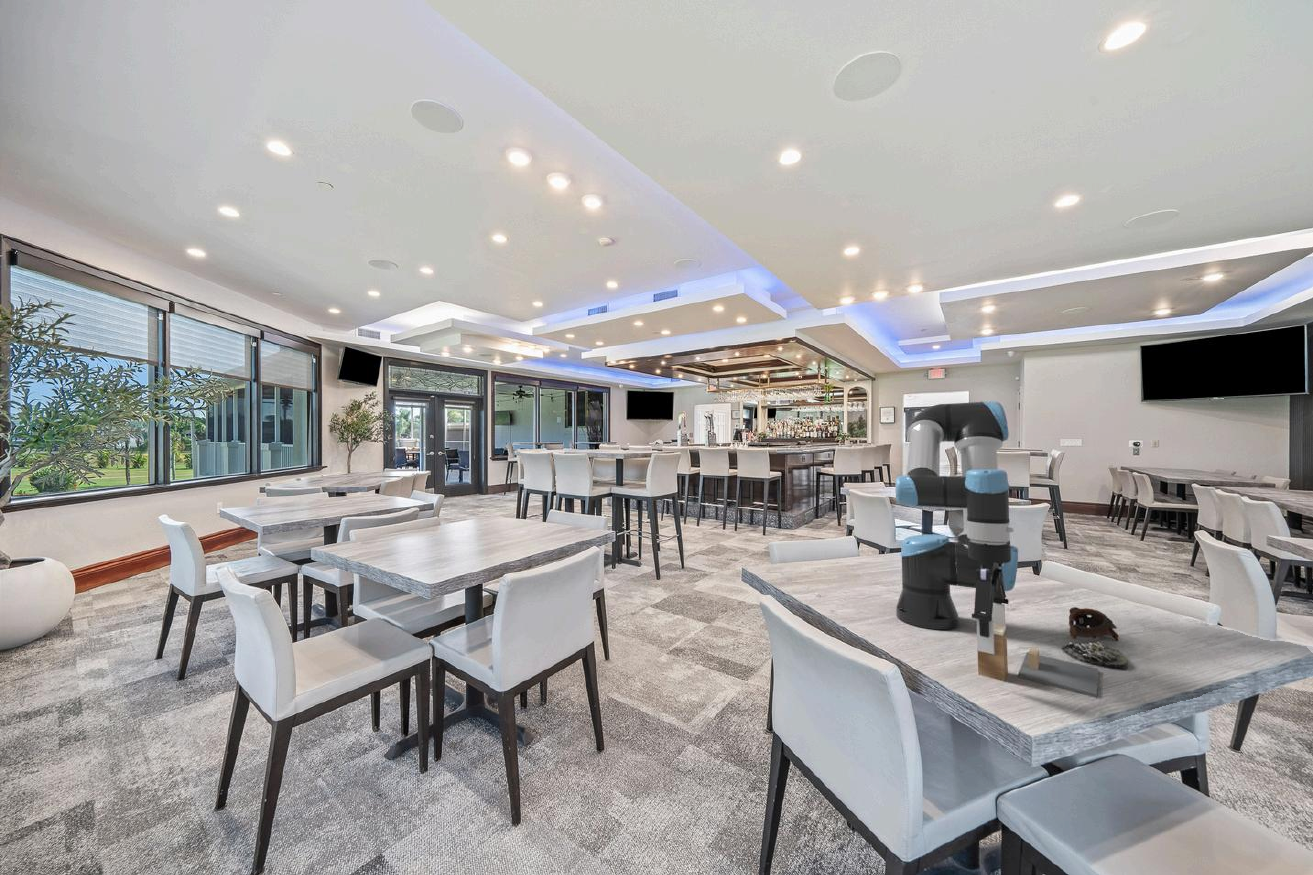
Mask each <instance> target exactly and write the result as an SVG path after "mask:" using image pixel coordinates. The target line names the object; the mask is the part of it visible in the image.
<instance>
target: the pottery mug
mask: <svg viewBox="0 0 1313 875" xmlns="http://www.w3.org/2000/svg"><path fill="white" fill-rule="evenodd" d="M1068 612H1069V616H1068V621H1069V622H1068V626H1069V631H1068V632H1069V635H1070V637H1072V639H1074V640H1076V639H1077V638H1084V639H1085V638H1086V639H1096V638H1099V639H1101V638H1103V637H1107V636H1108V637H1110V638H1112V639H1113V640H1114V641H1116V642H1119V638H1120V637H1119V636H1120V635H1119V634H1118V633H1117V632H1116V631H1115V630H1117V628H1118V627H1117V626H1116V624H1114V622H1113V620H1112V619H1110V618H1109V617H1108V616H1107V615H1106V614H1105V613H1103V612H1101V611H1100V610H1097V609H1093V608H1087V607H1085V608H1079V607H1074V606H1073V607H1071V608H1070V609H1069V611H1068Z"/></svg>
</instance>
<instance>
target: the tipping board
mask: <svg viewBox="0 0 1313 875" xmlns="http://www.w3.org/2000/svg"><path fill="white" fill-rule="evenodd" d="M1025 653H1026V654H1025V656H1024V658H1023V661H1022V664H1021V665H1020V668H1019V670H1018V673H1017V677H1018V678H1021V679H1025V680H1029V681H1033V682H1036V683H1041V684H1044V685H1048V686H1052V687H1055V688H1060V689H1064V690H1067V691H1070V692H1071V691H1072V692H1075V693H1079V694H1082V695H1086V696H1089V697H1092V698H1093V697H1094V698H1098V685H1099V681H1098V680H1099V668H1096V667H1093V666H1090V665H1089V666H1088V665H1085V664H1079V663H1075V662H1071V661H1067V660H1063V659H1058V658H1053V657H1050V656H1045V655H1042V654H1040V649H1038V648H1034V647H1030V648H1029V650H1028V652H1027V651H1026V652H1025Z"/></svg>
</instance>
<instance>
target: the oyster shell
mask: <svg viewBox="0 0 1313 875" xmlns="http://www.w3.org/2000/svg"><path fill="white" fill-rule="evenodd" d="M1068 643H1069V644H1066V645H1063V646H1062V647H1061V650H1062V653H1065V654H1066V655H1067V656H1069V657H1070V658H1072V659H1074V660H1076V661H1079V662H1081V663H1085V664H1089V665H1090V666H1091V665H1093V666H1096V667H1099V668H1105V669H1109V670H1120V671H1127V670H1128V666H1129V665H1128V664H1129V663H1128V660H1127V657H1126V656H1125V654H1124V653H1123V652H1121V651H1120V650H1118V649H1114V648H1110V647H1109V646H1105V647H1104V646H1103V644H1102V643H1101V642H1099V641H1097V642H1096V643H1093V642H1088V644H1087V643H1086V644H1085V643H1081V642H1071V641H1069V642H1068Z"/></svg>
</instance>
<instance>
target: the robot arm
mask: <svg viewBox="0 0 1313 875" xmlns="http://www.w3.org/2000/svg"><path fill="white" fill-rule="evenodd" d="M1009 433H1010V431H1009V425H1008V420H1007V415H1006V412H1005V409H1004V407H1003V405H1002V404H1001V403H1000V402H997V401H983V400H980V401H973V402H972V401H971V402H958V403H939V404H935V405H932V406H929V407H927V408H926V409H923V410H922V411H920V412H919V413H918V414H916V415H915V416H914V417H913V418H912V419H911V421H910V422H909V424H908V427H907V432H906V438H907V440H908V441H909V446H908V447H909V448H908V449H909V450H908V456H907V463H906V464H907V466H906V474H905V475H899V476H897V477H896V478H895V485H894V486H895V487H894V488H895V499H896V503H897V504H899V505H902V506H911V507H929V508H930V507H932V508H933V507H935V508H952V509H953V508H954V509H955V508H957V509H962V510H963V511H962V512H963V513H962V514H963V531H962V532H961V533H959V534H958V535H957V541H950V539H949V536H947V535H944V534H917V535H912V536H911V535H910V536H907V537H905V538H904V539H903V540H902V541H901V548H900V549H901V550H900V551H901V552H900V556H901V579H902V580H901V581H902V582H901V583H902V587H901V588H902V589H901V591H900V594H899V595H900V596H899V597H898V601H897V604H896V609H895V610H896V611H895V615H896V618H898V619H899V620H900V621H902V622H903V623H906V624H909V625H912V626H914V627H920V628H924V629H932V630H951V629H955V628H958V627H959V624H960V623H959V622H960V621H959V618H960V617H959V613H958V611H957V609H956V608H957V607H955V603H954V601H953V599H952V596H951V586H953V587H956V586H957V587H962V588H971V589H975V594H974V595H975V597H974V611H973V613H971V618H972V619H975V620H976V643H977V644H976V645H977V648H978V651H982V652H986V653H990V654H994V626H993V624H997V625H1002V626H1006V610H1005V607H1006V606H1005V605H1009V599H1008V598H1007V594H1006V592H1010V591H1012V590H1013V589H1014V588H1015V585H1016V580H1017V574H1018V573H1017V572H1018V562H1019V548H1018V547H1016V546H1014V545H1011V534H1010V533H1013V532H1014V528H1013V527H1009V526H1010V505H1009V504H1010V502H1009V500H1010V499H1009V498H1010V497H1009V492H1010V491H1009V489H1010V484H1009V478H1008V477H1009V476H1008V473H1007V471H1005V470H1003V469H999V464H998V453H997V451H998V450H1000V449H1001V448H1002V447H1003V445H1004V444H1003V443H1004V442H1005V441H1008V439H1009V436H1010V435H1009ZM944 442H946V443H947V442H949V443H950V442H954V448H955V449H956V450H958V451H959V452H960V460H961V461H960V462H961V463H960V464H961V475H960V476H959V475H957V476H949V475H942V476H941V475H940V474H941V473H940V472H941V471H940V468H941V460H940V453H941V452H940V451H941V448H940V447H941V445H940V444H941V443H944ZM977 648H976V649H977ZM978 651H977V652H978Z"/></svg>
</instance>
